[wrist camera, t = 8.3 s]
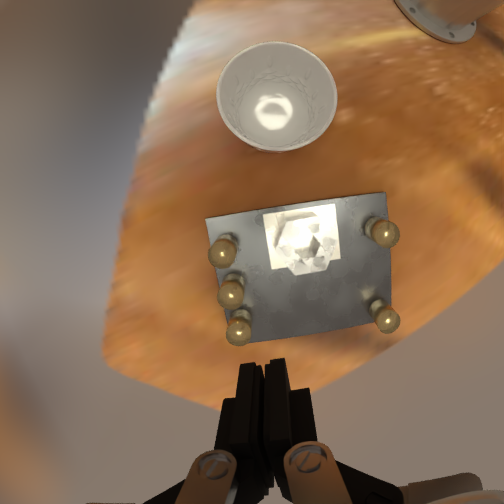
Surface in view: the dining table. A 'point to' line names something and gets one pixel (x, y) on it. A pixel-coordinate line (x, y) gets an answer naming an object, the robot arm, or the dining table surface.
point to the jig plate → (305, 285)
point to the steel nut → (307, 259)
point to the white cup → (276, 96)
